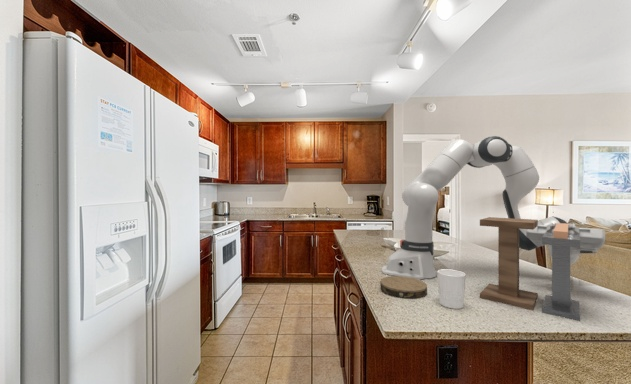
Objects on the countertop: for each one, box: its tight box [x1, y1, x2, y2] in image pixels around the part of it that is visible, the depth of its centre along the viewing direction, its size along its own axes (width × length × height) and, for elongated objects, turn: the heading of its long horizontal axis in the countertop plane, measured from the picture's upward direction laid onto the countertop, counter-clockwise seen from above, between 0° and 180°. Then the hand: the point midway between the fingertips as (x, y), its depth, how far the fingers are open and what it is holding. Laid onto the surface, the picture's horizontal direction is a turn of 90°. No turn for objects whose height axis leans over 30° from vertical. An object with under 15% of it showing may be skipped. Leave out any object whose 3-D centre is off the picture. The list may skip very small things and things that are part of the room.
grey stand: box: [541, 232, 581, 322], centre depth 82 cm, size 14×8×22 cm, turn 137°
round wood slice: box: [379, 275, 428, 300], centre depth 98 cm, size 16×16×3 cm
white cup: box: [436, 268, 467, 310], centre depth 85 cm, size 8×8×10 cm
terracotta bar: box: [553, 223, 570, 239], centre depth 86 cm, size 22×3×2 cm, turn 137°
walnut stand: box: [479, 216, 539, 311], centre depth 91 cm, size 14×14×26 cm
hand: (562, 224), depth 90 cm, fingers open, 3 cm apart
